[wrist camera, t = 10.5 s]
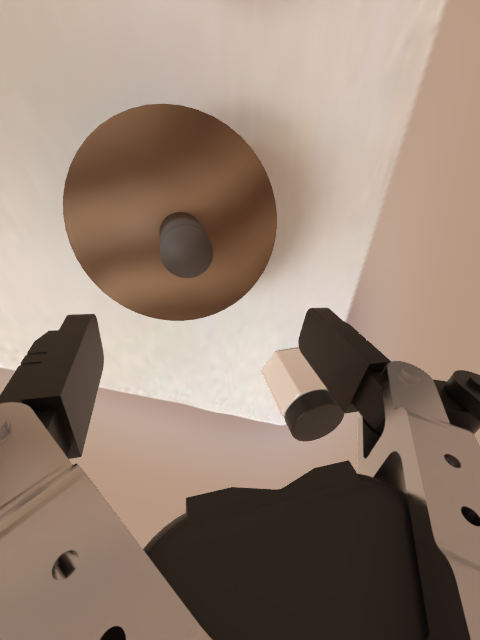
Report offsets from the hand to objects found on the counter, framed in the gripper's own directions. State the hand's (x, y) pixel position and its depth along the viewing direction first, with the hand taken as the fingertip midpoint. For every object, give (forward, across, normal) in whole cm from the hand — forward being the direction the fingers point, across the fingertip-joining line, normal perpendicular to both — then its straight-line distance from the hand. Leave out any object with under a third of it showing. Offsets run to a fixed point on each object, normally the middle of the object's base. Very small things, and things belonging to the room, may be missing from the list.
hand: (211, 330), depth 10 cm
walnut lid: (+16, 0, 0) cm, 16 cm away
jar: (+23, -18, +24) cm, 38 cm away
